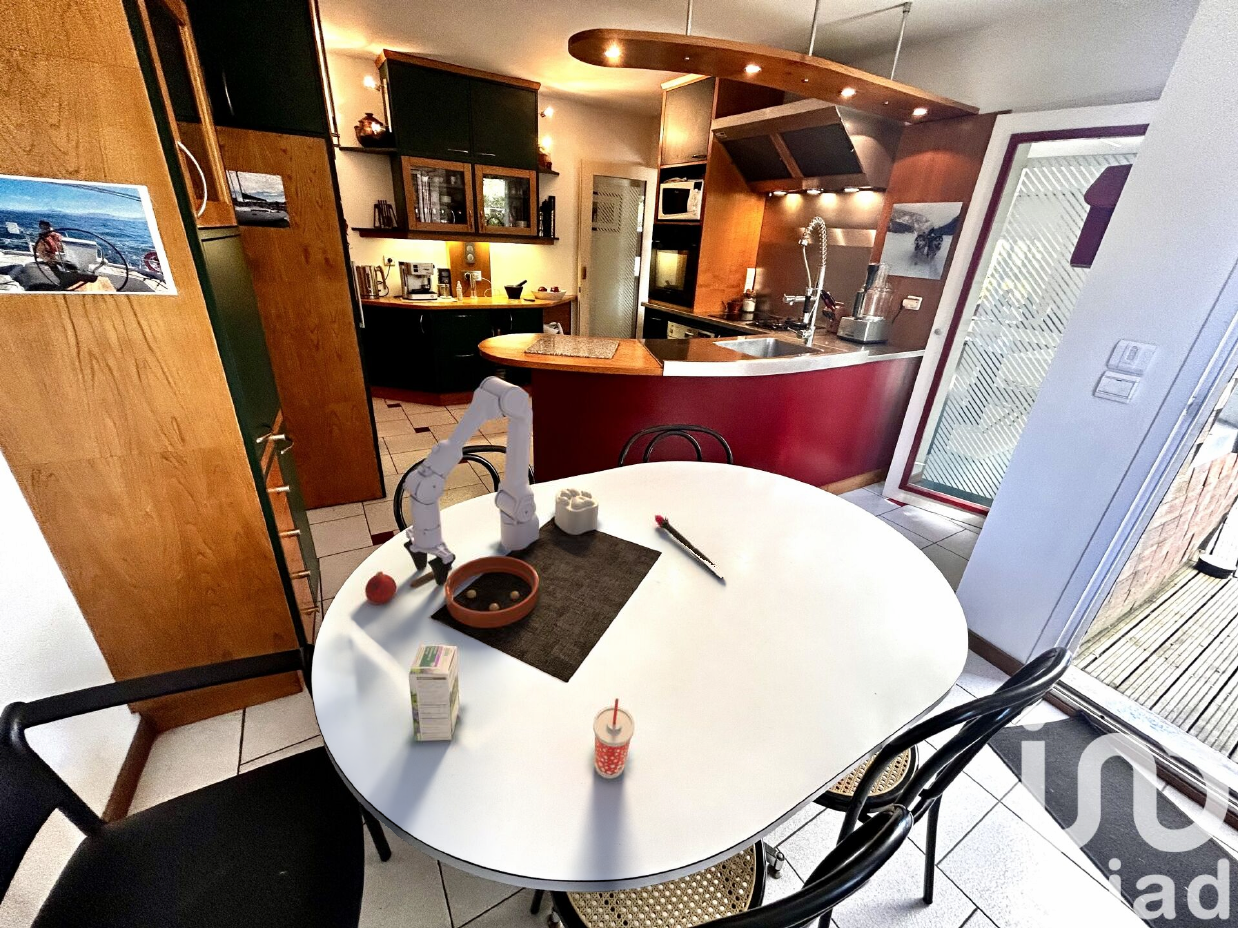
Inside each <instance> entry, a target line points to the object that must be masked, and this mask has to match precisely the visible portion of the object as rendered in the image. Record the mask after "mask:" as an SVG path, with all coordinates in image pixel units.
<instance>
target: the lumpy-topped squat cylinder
mask: <svg viewBox="0 0 1238 928" xmlns="http://www.w3.org/2000/svg"><path fill="white" fill-rule="evenodd" d="M554 501H555V502H554V503H555V505H554V523H555V524H556V526H558V528H559V529H561V530H562V531H563V532H565V533H567V534H569V535H574V536H576V535H577V536H578V535H581V534H583V533H585V532H588V531H593V530H595V529H597V527H598V516H599V501H598V500H597V499H596V498H595V497H594V496H593V495H592V493H591V492H590V491H588V490H580V489H577V488H575V487H573V488H572V487H571V488H564V489H561V490H559V491H558V492H557V493H556V495H555V500H554Z"/></svg>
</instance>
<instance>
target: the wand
mask: <svg viewBox="0 0 1238 928" xmlns="http://www.w3.org/2000/svg"><path fill="white" fill-rule="evenodd" d="M654 520H655V523H657V525H658V528H659V529H660V530H661V529H662V530H663V529H664V530H666V532H668V533H669V534H670V535H671V534H672V535H673V536H672V535H671V536H672V537H673V538H674V539H675V540H677V541H678V540H679V541H680V542H681V543H683V544H684V545H685V546H687V547H688V548H689V549H691V550H692V551H693V552H694V553H695V554H697V555H698V556H700V558H702V559H703V560H706V561H708V562H709V563H711V565H716V564H715V563H714V562H713V561H712V560H711V559H710V558H709V557H707V556H706V555H705V554H704V553H703V552H702V551H700V550H699V549H698V548H697V547H695V546H694V545H693V544H692V543H691V541H689V540H688V539H687V538H686V537H685V536H684V535H682V533H680V532H679V531H678V530H677V529H676V528H675V527H673V526H672V525H671V524H670V521H669V518H667V516H665V517H663V516H662V515H660V514H654ZM679 541H678V542H679ZM680 542H679V543H680ZM681 543H680V544H681ZM684 545H682V546H683V547H685V546H684ZM688 548H687V549H688ZM689 549H688V550H689ZM691 554H692V555H693V556H694V557H696V556H695V555H694V554H693V553H692V552H691ZM696 558H697V559H698V560H699V561H700V562H701V560H700V559H699V558H698V557H696ZM710 560H711V561H712V562H713V563H714V564H713V563H712V562H711V561H710ZM703 565H704V566H706V565H705V564H703ZM706 567H707V568H708V566H706ZM714 567H715V566H714Z"/></svg>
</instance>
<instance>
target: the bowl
mask: <svg viewBox="0 0 1238 928" xmlns="http://www.w3.org/2000/svg"><path fill="white" fill-rule="evenodd" d="M489 573H506V574H511V575H514V576H517V577H519V578H521V579H522V580H524V581H525V582H526V583H527V584H528V585H529V587H530V590H531V593H530V594H529V595H528V596H527V597H526V598H525V599H524V600H523V601H520V602H519V603H517V604H516V605H514V606H510V607H507V608H505V609H501V610H499V609H498V610H497V611H494V612H491V611H480V610H479V611H478V610H473V609H469V608H466V607H464V606H461V605H459V604H458V603H457V602H455V600H454V597H455V596H454V595H455V593H456V591H457V590H458V588H459V587H460V586H461V585H463V584H464V583H465V582H466V581H468V580H470V579H472V578H475V577H476V576H480V575H483V574H489ZM444 595H445V596H444V597H445V605H446V609H447V611H448V613H449V614H450V616H451V617H452V618H454V620H456V621H457V622H460V623H461V624H464V625H466V626H469V627H475V628H481V629H483V628H484V629H486V628H487V629H490V628H499V627H503V626H508V625H510V624H513V623H515V622H518V621H519V620H521V619H523V618H524V617H525V616H527V615H529V613H530V612H531V611H532V610H533V608H535V606H536V604H537V602H538V599H539V576H538V574H537V572H536V570H535V569H534V568H533V567H532V566H531V565H530V564H528V563H527V562H526V561H523V560H522V559H518V558H515V557H512V556H506V555H489V556H483V557H478V558H475V559H472V560H469V561H467V562H465V563H463V564H461V565H459V566H458V567H457V568H455V569H454V570H453V571H452V572H451V573H450V575H448V577H447V581H446V582H445V585H444Z"/></svg>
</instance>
